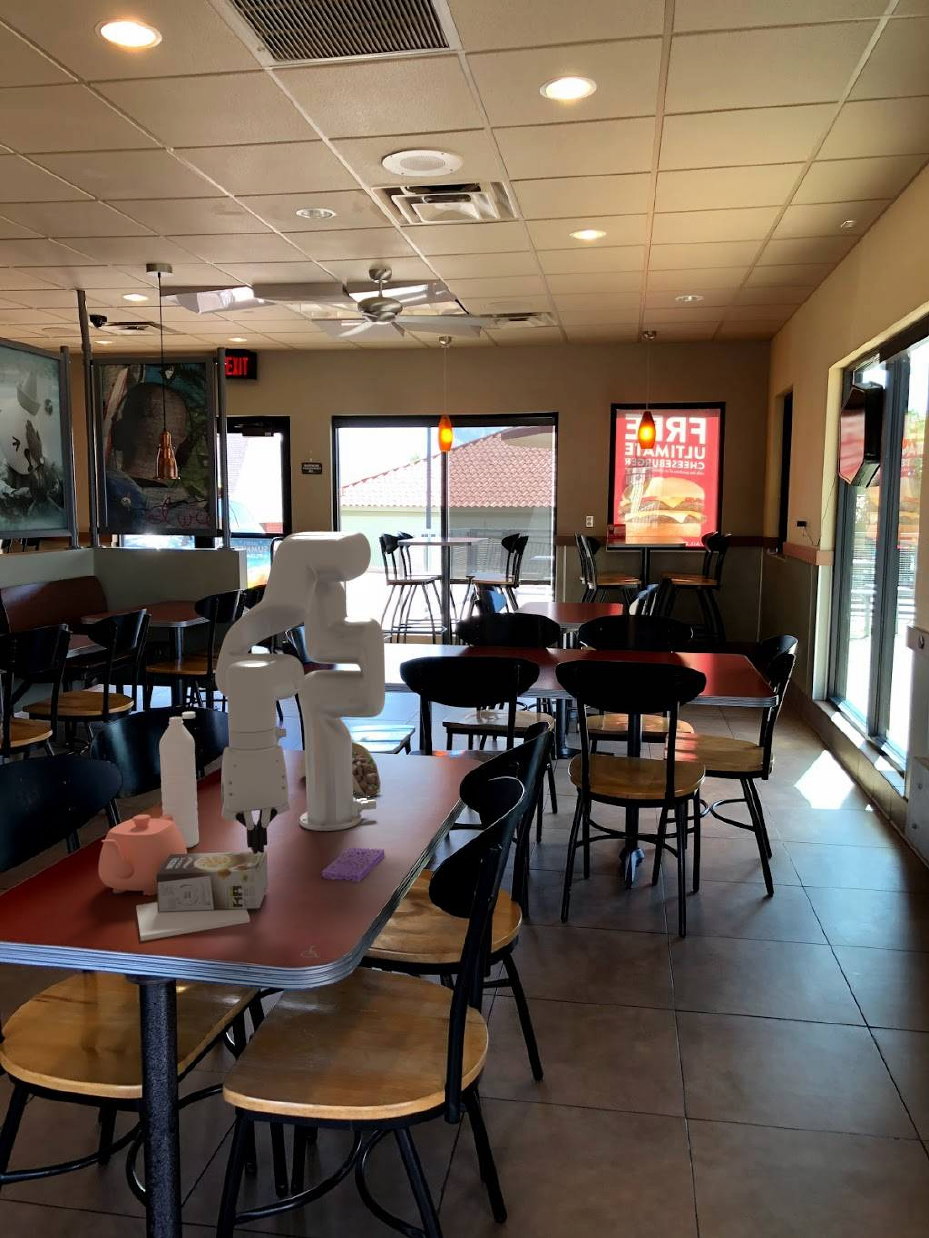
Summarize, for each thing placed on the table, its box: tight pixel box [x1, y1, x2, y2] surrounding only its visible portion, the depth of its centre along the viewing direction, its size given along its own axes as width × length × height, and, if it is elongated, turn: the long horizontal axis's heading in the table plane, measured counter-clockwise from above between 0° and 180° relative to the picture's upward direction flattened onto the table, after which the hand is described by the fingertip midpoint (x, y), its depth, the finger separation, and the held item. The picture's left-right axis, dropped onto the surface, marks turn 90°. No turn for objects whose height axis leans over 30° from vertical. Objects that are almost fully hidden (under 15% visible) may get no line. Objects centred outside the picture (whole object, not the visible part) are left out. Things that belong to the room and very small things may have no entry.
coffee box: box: [156, 850, 269, 912], centre depth 149 cm, size 9×6×16 cm
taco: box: [299, 741, 382, 798], centre depth 217 cm, size 10×27×10 cm, turn 44°
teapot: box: [98, 814, 188, 897], centre depth 157 cm, size 13×20×12 cm, turn 167°
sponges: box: [321, 846, 386, 883], centre depth 165 cm, size 7×13×2 cm, turn 164°
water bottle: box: [158, 711, 200, 849], centre depth 178 cm, size 9×6×25 cm
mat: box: [135, 901, 251, 942], centre depth 145 cm, size 16×12×1 cm
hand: (257, 850), depth 149 cm, fingers closed
